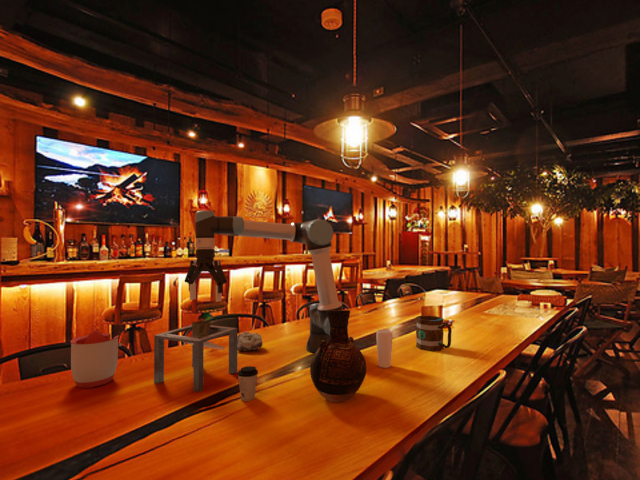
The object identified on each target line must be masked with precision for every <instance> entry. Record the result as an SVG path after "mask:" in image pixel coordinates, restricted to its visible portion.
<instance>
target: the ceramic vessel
mask: <svg viewBox="0 0 640 480" xmlns="http://www.w3.org/2000/svg"><path fill="white" fill-rule="evenodd" d="M350 315H351V310H350V309H343V310H342V311H341V310H333V311H332V310H329V311H327V316H328V319H329V323H330V338H329V339H328V340H327V341H325V340H322V342H321V344H320V348H319V349H318V350H317V351H316V353H314V354H313V357H312V359H311V362H310V367H309V373H310V378H311V381H312V384H313V385H314V387H315V389H316V391H317V392H318V394H320V396H322V397H323V398H324V399H325V400H327V401H328V402H331V403H342V402H345V401H347V400H349V399H352V398H353V396H355V394H356V393H357V392H358V390H359V389H360V388H361V386H362V385H363V383H364V380H365V378H366V374H367V363H366V359H365V356H364V355H363V353H362V351H361V350H360V348H359V347H358V346H357V345H356V344H354V341H355V340H354V337H353V336H349V329H348V327H349V323H348V322H349V321H350ZM347 326H348V327H347Z"/></svg>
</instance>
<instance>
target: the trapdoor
mask: <svg viewBox="0 0 640 480" xmlns="http://www.w3.org/2000/svg"><path fill="white" fill-rule="evenodd" d="M167 335H171V334H167ZM171 336H178V337H186V338H193V339H199V338H194V337H192V336H184V335H177V334H173V335H171ZM184 343H185V344H189V345H194V343H187V342H184ZM203 348H210V349H211V348H212V349H217V350H225V346H222V345H220V344H216V343H214V342H211V341H206V342H204V345H203Z"/></svg>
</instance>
